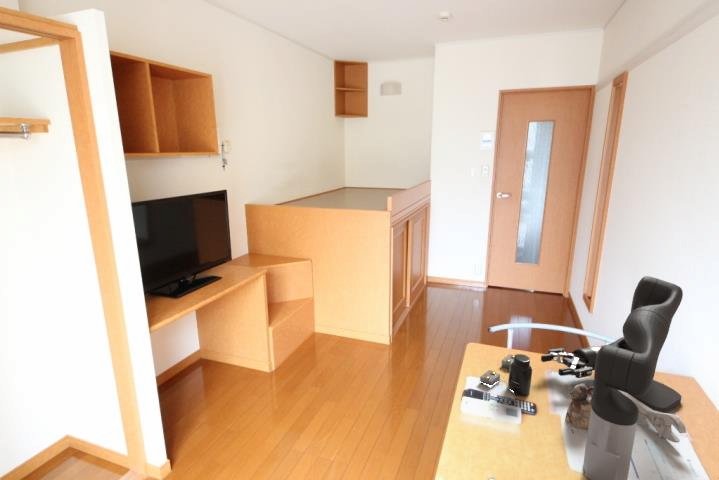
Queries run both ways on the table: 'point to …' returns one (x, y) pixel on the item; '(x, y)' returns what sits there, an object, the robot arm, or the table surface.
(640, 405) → the wrench
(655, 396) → the media streaming box
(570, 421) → the figurine
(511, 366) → the supplement bottle
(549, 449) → the table surface
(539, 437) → the table surface
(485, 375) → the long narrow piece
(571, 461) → the table surface
